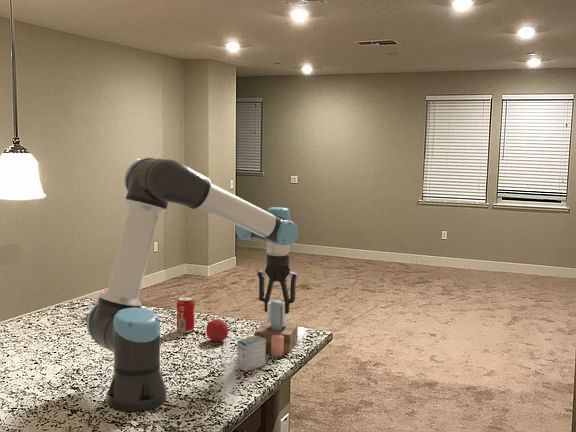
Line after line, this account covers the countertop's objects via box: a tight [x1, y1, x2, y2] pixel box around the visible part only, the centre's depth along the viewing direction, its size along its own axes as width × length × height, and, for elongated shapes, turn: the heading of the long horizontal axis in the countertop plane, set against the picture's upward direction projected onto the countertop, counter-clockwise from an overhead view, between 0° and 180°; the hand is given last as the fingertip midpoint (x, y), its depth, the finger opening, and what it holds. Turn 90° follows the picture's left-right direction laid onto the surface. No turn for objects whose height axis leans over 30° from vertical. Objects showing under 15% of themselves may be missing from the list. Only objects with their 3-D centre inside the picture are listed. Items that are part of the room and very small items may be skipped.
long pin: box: [270, 299, 284, 331], centre depth 211 cm, size 4×4×14 cm
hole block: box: [254, 321, 299, 354], centre depth 211 cm, size 12×12×6 cm
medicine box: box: [236, 335, 267, 372], centre depth 190 cm, size 8×4×9 cm, turn 134°
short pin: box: [270, 335, 284, 358], centre depth 202 cm, size 4×4×6 cm
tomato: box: [205, 318, 229, 343], centre depth 215 cm, size 8×8×8 cm
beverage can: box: [176, 296, 195, 334], centre depth 225 cm, size 6×6×12 cm
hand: (276, 321), depth 211 cm, fingers open, 4 cm apart
